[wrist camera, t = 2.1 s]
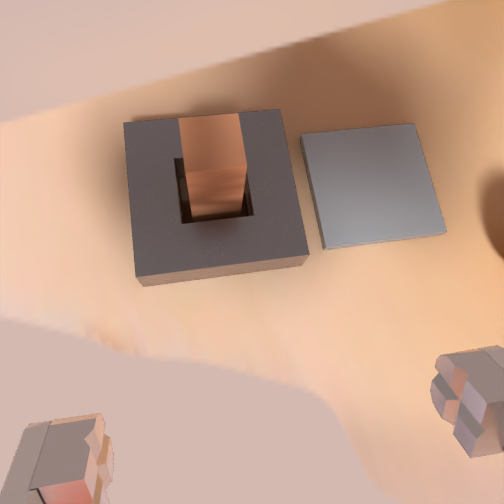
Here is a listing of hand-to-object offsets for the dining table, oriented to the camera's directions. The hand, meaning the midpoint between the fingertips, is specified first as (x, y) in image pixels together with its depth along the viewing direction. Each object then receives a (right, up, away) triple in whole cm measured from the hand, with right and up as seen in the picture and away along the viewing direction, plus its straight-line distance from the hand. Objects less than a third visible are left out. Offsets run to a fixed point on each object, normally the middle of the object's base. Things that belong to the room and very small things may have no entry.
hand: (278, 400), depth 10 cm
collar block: (-4, +7, +23) cm, 24 cm away
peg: (-4, +7, +23) cm, 24 cm away
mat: (+9, +9, +25) cm, 28 cm away
